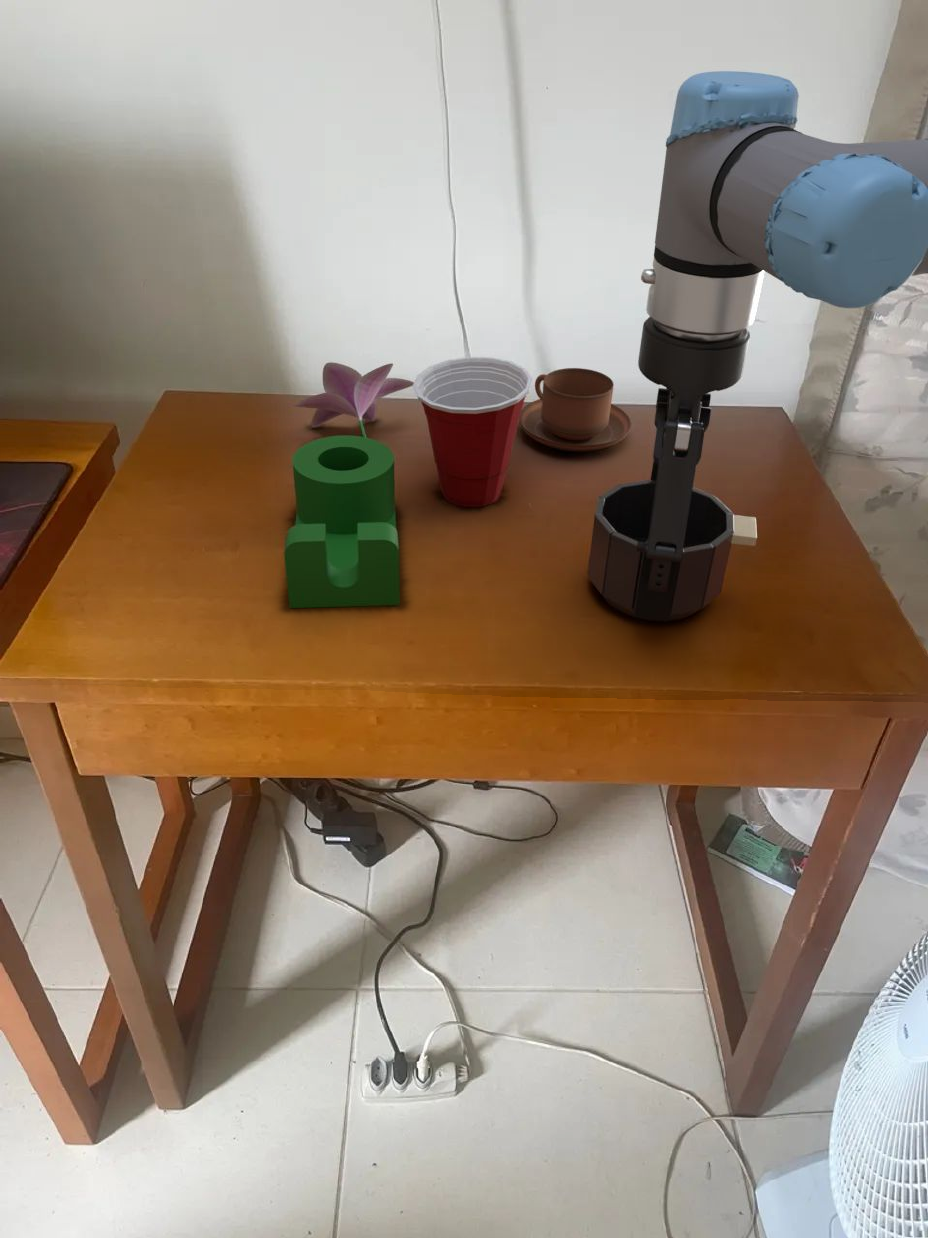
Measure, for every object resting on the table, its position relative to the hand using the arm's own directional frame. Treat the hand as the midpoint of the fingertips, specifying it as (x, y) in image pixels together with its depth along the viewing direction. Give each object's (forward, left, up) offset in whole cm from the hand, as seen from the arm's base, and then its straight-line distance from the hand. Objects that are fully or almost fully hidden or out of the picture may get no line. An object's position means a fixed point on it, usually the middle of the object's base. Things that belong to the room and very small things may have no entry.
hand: (654, 569), depth 82 cm
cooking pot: (0, 0, -1) cm, 1 cm away
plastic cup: (+14, +17, -2) cm, 22 cm away
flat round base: (0, 0, -2) cm, 2 cm away
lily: (+24, +30, -2) cm, 38 cm away
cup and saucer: (+28, +7, -2) cm, 29 cm away
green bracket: (+3, +27, -2) cm, 27 cm away
